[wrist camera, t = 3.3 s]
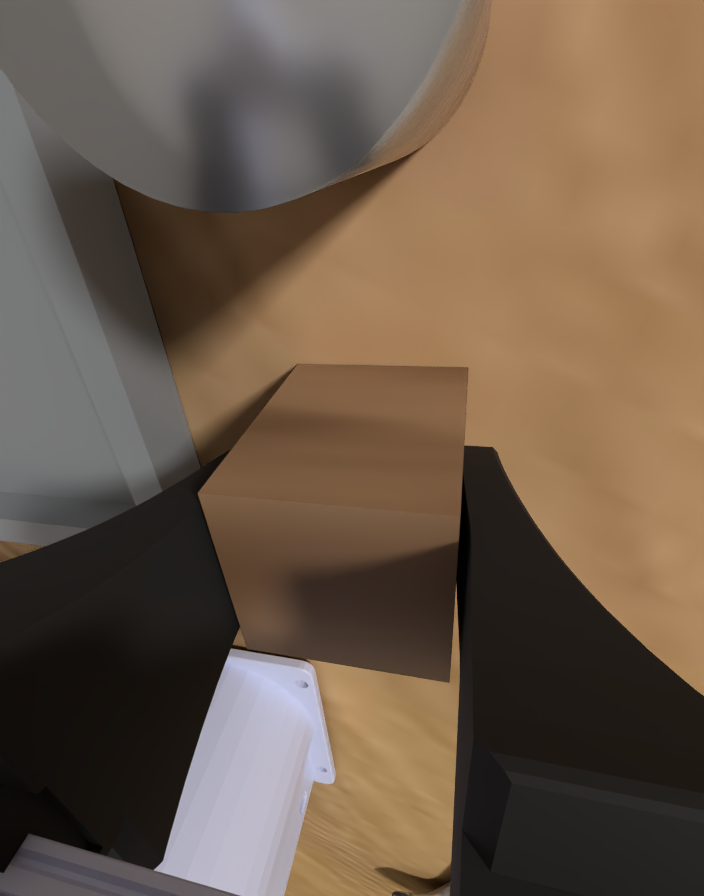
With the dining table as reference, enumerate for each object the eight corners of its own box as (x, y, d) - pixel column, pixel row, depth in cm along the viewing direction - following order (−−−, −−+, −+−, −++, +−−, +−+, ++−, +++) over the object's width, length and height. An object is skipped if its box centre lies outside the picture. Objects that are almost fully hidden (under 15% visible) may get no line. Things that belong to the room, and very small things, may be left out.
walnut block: (459, 506, 13) (449, 683, 9) (316, 494, 14) (247, 649, 10) (468, 367, 11) (460, 516, 7) (297, 364, 11) (197, 493, 7)
